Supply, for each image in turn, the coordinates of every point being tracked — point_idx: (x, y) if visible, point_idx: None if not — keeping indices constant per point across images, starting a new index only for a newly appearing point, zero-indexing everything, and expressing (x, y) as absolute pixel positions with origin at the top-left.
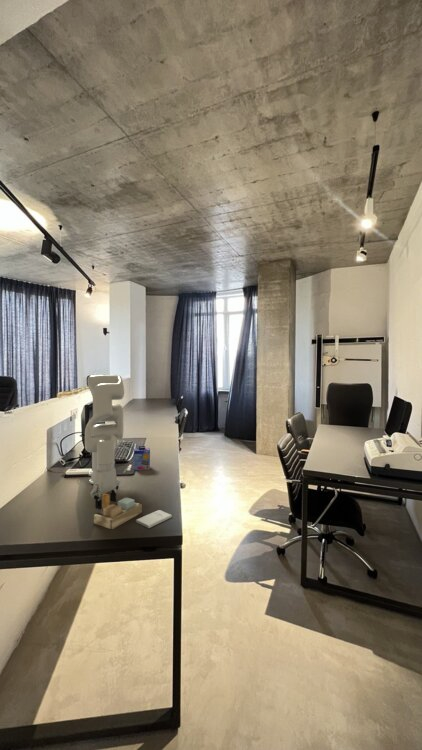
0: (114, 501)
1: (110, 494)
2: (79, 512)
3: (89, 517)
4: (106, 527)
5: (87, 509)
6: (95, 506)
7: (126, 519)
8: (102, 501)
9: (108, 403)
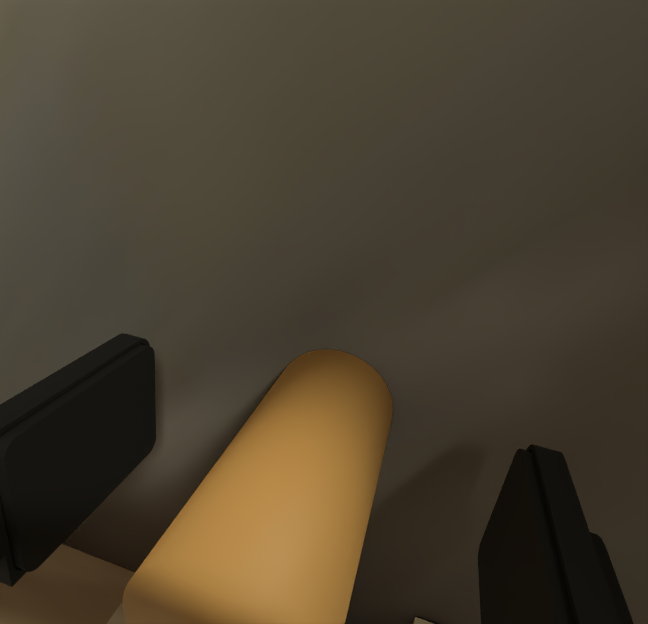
0: (479, 553)
1: (540, 600)
2: (15, 49)
3: (18, 332)
4: None
5: (162, 102)
6: (107, 344)
7: None
8: (239, 437)
9: None
